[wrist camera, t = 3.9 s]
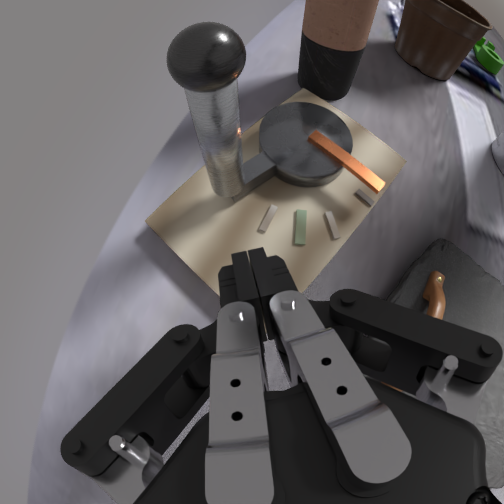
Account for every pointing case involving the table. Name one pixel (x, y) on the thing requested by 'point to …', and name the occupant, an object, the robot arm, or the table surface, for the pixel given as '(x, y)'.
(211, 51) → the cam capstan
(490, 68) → the tape dispenser
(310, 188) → the flat beige board
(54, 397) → the table surface
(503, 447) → the serving board
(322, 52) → the travel mug
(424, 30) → the plant pot
